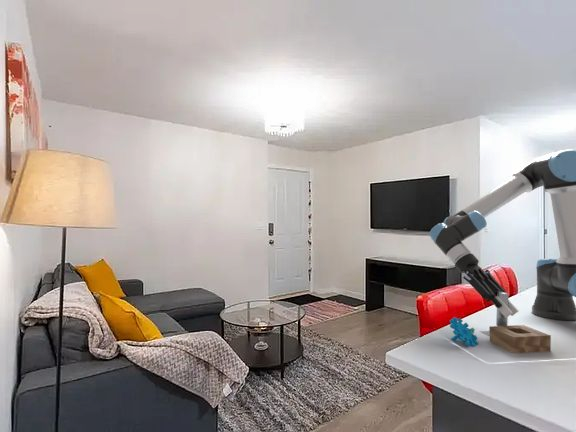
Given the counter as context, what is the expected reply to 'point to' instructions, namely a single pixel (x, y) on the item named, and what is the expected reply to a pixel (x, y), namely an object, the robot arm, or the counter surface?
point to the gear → (463, 332)
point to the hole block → (520, 339)
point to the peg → (500, 317)
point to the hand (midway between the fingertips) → (512, 314)
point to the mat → (486, 333)
